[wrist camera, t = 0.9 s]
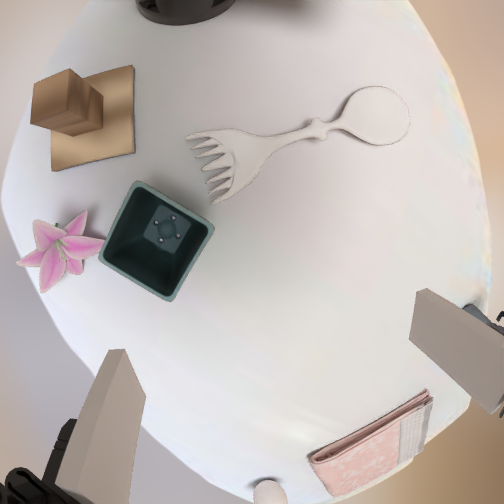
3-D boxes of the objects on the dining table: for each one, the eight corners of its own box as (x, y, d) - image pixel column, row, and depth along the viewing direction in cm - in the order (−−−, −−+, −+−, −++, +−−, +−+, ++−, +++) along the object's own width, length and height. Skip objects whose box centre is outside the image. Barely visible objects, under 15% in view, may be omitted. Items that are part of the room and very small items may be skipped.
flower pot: (122, 241, 32) (95, 259, 23) (154, 180, 31) (135, 178, 22) (179, 275, 34) (171, 304, 25) (215, 216, 33) (217, 226, 24)
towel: (417, 442, 60) (425, 452, 55) (328, 490, 58) (333, 502, 53) (426, 384, 50) (439, 396, 45) (303, 452, 48) (311, 469, 43)
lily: (51, 280, 32) (49, 322, 25) (12, 215, 25) (-5, 247, 18) (114, 244, 36) (125, 279, 29) (82, 173, 29) (80, 192, 22)
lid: (56, 91, 24) (14, 67, 14) (133, 67, 26) (108, 27, 15) (55, 171, 27) (5, 170, 17) (134, 152, 29) (101, 138, 18)
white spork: (184, 140, 30) (182, 134, 27) (388, 86, 32) (401, 80, 29) (211, 206, 33) (211, 208, 30) (407, 138, 35) (421, 136, 31)
